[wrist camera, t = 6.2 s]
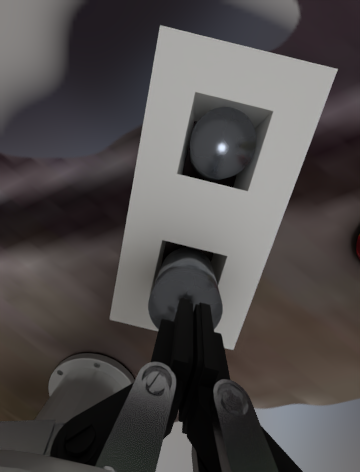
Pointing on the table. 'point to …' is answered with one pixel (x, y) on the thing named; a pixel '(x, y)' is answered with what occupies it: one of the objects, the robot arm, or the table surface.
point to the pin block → (207, 193)
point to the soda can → (358, 246)
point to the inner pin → (184, 286)
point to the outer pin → (222, 143)
